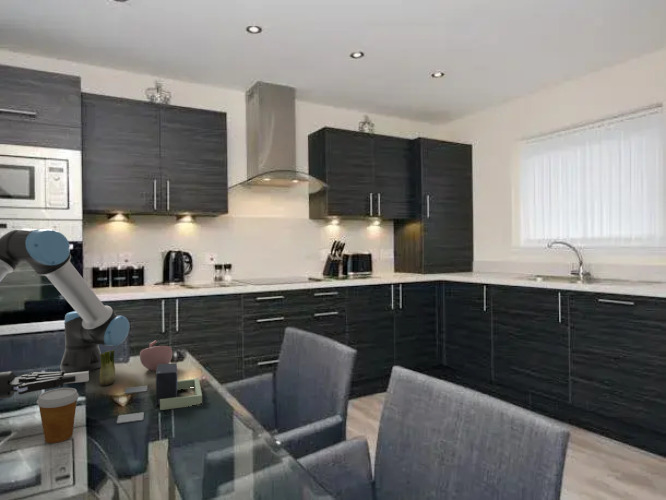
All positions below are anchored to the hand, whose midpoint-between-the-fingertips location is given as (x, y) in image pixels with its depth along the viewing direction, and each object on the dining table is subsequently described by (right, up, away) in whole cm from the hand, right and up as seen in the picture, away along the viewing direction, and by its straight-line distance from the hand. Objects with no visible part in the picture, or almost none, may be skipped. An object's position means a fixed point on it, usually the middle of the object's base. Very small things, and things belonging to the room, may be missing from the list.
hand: (88, 376), depth 136 cm
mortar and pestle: (+5, -9, +39) cm, 41 cm away
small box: (+21, -10, +9) cm, 25 cm away
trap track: (+20, -10, +8) cm, 24 cm away
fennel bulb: (-5, -10, +22) cm, 25 cm away
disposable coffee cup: (+2, -11, -18) cm, 22 cm away
